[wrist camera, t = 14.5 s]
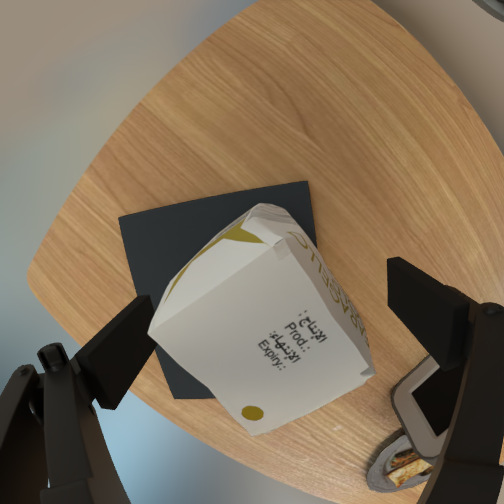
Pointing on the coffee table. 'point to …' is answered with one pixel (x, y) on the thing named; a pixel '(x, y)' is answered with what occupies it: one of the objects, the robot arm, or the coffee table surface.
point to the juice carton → (264, 323)
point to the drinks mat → (195, 249)
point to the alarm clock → (427, 405)
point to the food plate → (398, 468)
